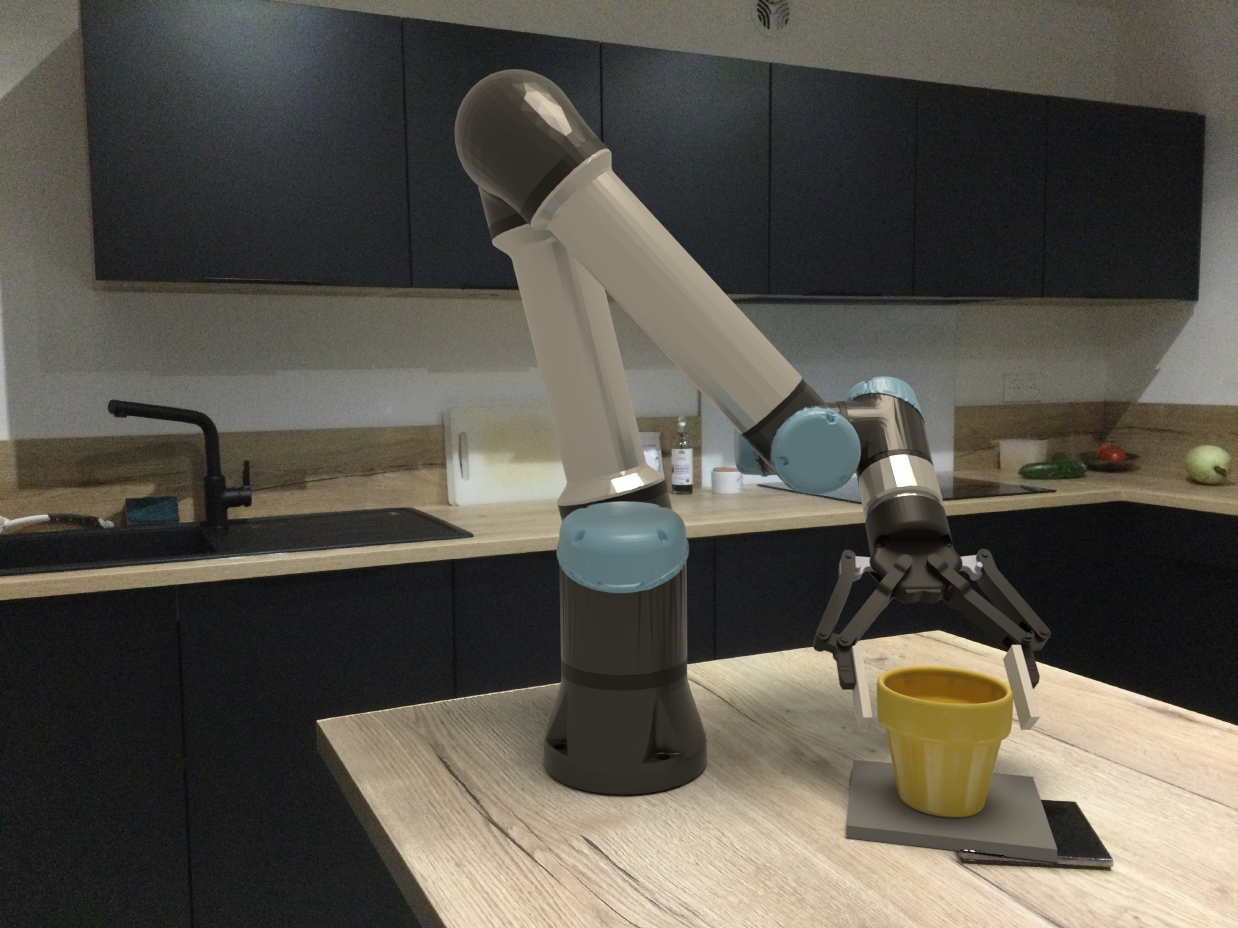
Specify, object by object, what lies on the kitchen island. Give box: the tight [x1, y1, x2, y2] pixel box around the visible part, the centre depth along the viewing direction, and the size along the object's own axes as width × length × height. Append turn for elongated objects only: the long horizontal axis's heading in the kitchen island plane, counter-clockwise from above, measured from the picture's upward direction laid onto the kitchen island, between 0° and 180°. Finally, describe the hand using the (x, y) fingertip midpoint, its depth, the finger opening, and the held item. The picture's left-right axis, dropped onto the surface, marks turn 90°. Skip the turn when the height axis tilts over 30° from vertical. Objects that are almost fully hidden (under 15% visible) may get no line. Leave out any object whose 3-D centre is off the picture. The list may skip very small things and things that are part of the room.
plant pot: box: [876, 665, 1014, 818], centre depth 78 cm, size 10×10×10 cm
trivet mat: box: [845, 758, 1058, 863], centre depth 78 cm, size 15×13×1 cm
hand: (947, 724), depth 80 cm, fingers open, 13 cm apart
